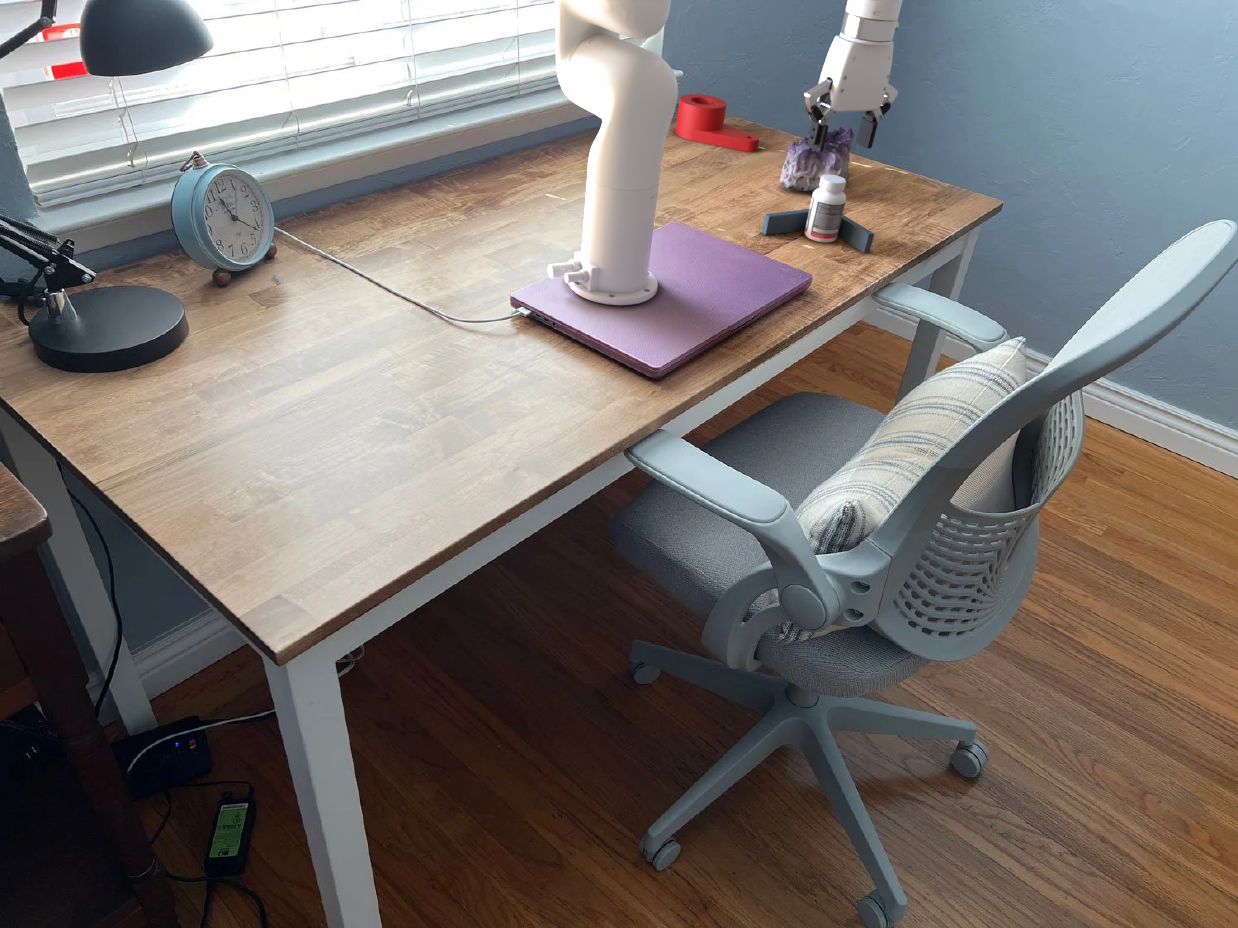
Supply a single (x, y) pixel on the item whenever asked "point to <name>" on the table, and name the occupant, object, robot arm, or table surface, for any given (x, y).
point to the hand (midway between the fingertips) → (839, 147)
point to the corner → (797, 222)
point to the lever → (710, 123)
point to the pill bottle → (826, 209)
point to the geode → (816, 161)
